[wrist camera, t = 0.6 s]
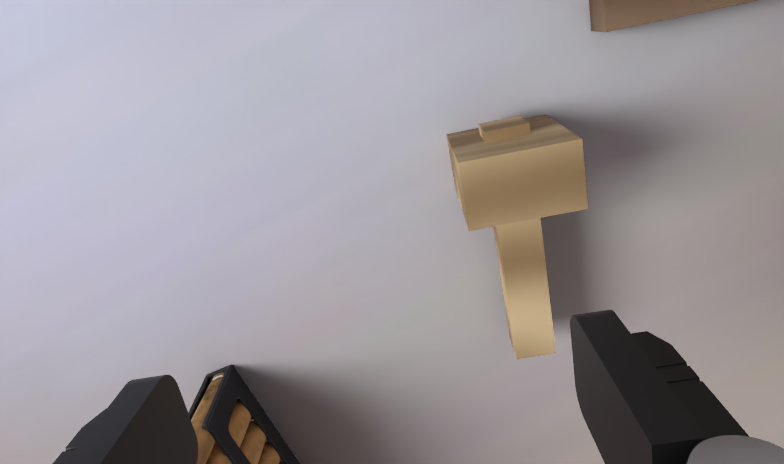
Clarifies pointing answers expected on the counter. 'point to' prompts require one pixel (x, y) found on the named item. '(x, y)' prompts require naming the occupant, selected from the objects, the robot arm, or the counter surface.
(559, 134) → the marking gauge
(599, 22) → the walnut board
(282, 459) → the ammunition clip
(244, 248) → the counter surface
